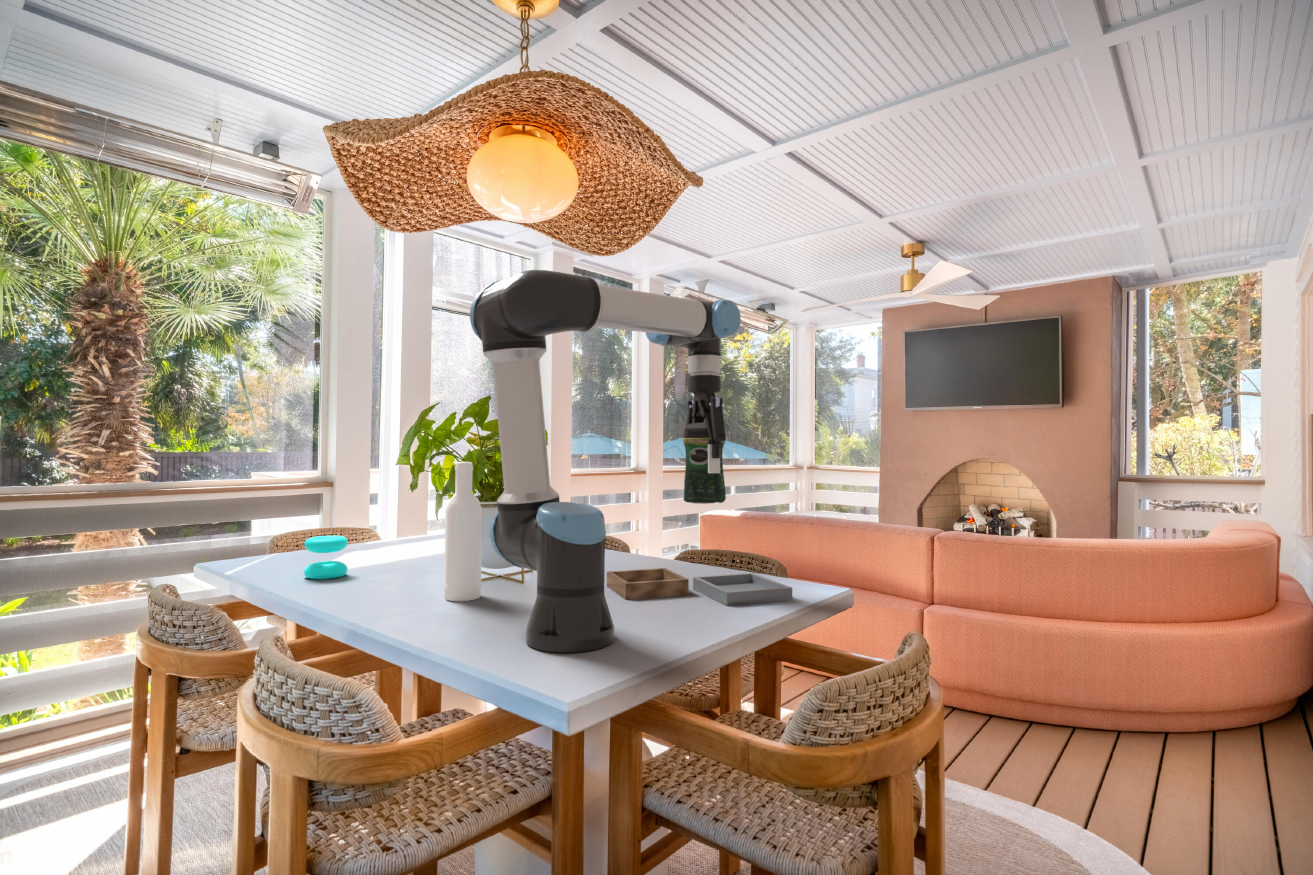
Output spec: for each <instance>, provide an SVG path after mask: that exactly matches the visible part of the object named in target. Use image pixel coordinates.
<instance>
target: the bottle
mask: <svg viewBox="0 0 1313 875" xmlns="http://www.w3.org/2000/svg"><path fill="white" fill-rule="evenodd" d="M473 465H474V464H473V462H472V461H456V462H455V466H454V471H455V478H454V479H455V484H454V486H455V487H454V489H455V490H454V491H455V493H454V494H453V496H452V497H450V498H449V499H448V501H447V504H446V505H445V506H446V507H445V510H444V516H445V517H444V519H445V520H444V521H445V522H444V523H445V524H444V584H443V592H444V595H443V596H444V599H445V600H446V601H448V600H449V602H468V601H469V602H470V600H471V601H474V600H478V599H480V597H482V587H483V584H482V530H483V529H482V527H483V524H482V522H483V521H482V520H483V516H482V515H483V512H482V510H483V509H482V506H481V502H480V500H479V498H478V497H477V496H475V494H474V493H473V471H474V466H473ZM456 517H457V518H456Z"/></svg>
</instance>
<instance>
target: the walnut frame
mask: <svg viewBox="0 0 1313 875" xmlns="http://www.w3.org/2000/svg"><path fill="white" fill-rule="evenodd" d="M689 584H690V582H689V578H687V577H684V576H683V575H680V574H678V573H676V572H675V571H672V570H670V569H668V568H665V567H662V568H660V567H659V568H648V569H647V568H646V569H645V568H644V569H643V568H641V569H629V570H628V569H626V570H612V571H611V570H610V571H606V587H608V589H610V590H611V591H613V592H614V593H615V594H617V595H619V596H620V597H621V598H623V599H624V600H638V599H650V598H661V597H662V598H664V597H666V598H667V597H675V596H676V597H677V596H688V595H689Z"/></svg>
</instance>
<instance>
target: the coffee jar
mask: <svg viewBox="0 0 1313 875" xmlns="http://www.w3.org/2000/svg"><path fill="white" fill-rule="evenodd" d="M708 441H709V436H708V432H707V427H706V423H705V422H704V423H692V424H685V425H684V429H683V437H682V443H683V446H684V450H685V470H684V480H683V493H682V494H683V497H682V498H683V501H685V503H691V504H697V505H698V504H703V505H706V504H715V503H719V504H722V503H724V502H725V501H726V498H727V493H726V485H725V476H724V466H723V464H724V463H723V450H724V446H725V443H726V440H725V441H722V443H721V444H720V473H708V444H707V442H708Z"/></svg>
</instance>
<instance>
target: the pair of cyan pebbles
mask: <svg viewBox="0 0 1313 875" xmlns="http://www.w3.org/2000/svg"><path fill="white" fill-rule="evenodd" d="M348 543H349V541H348V539H347V537H345V536H342V535H319V536H313V537H309V538H307V539H305V541H304V548H305V549H306V550H307V551H308V552H311V553H315V554H329V553H337V552H340V551H342V550H344V549H345V548H346V547H347V546H348ZM347 573H348V566H347V564H345V563H344V562H342V561H337V560H322V561H317V562H313V563H310V564H309V565H307V566H306V567H305V568H304V569H303V574H304V576H305V578H307V579H309V578H312V579H311V580H330V579H329V578H333V579H337V577H338V578H341V577H343V576H345V575H346V574H347Z"/></svg>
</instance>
